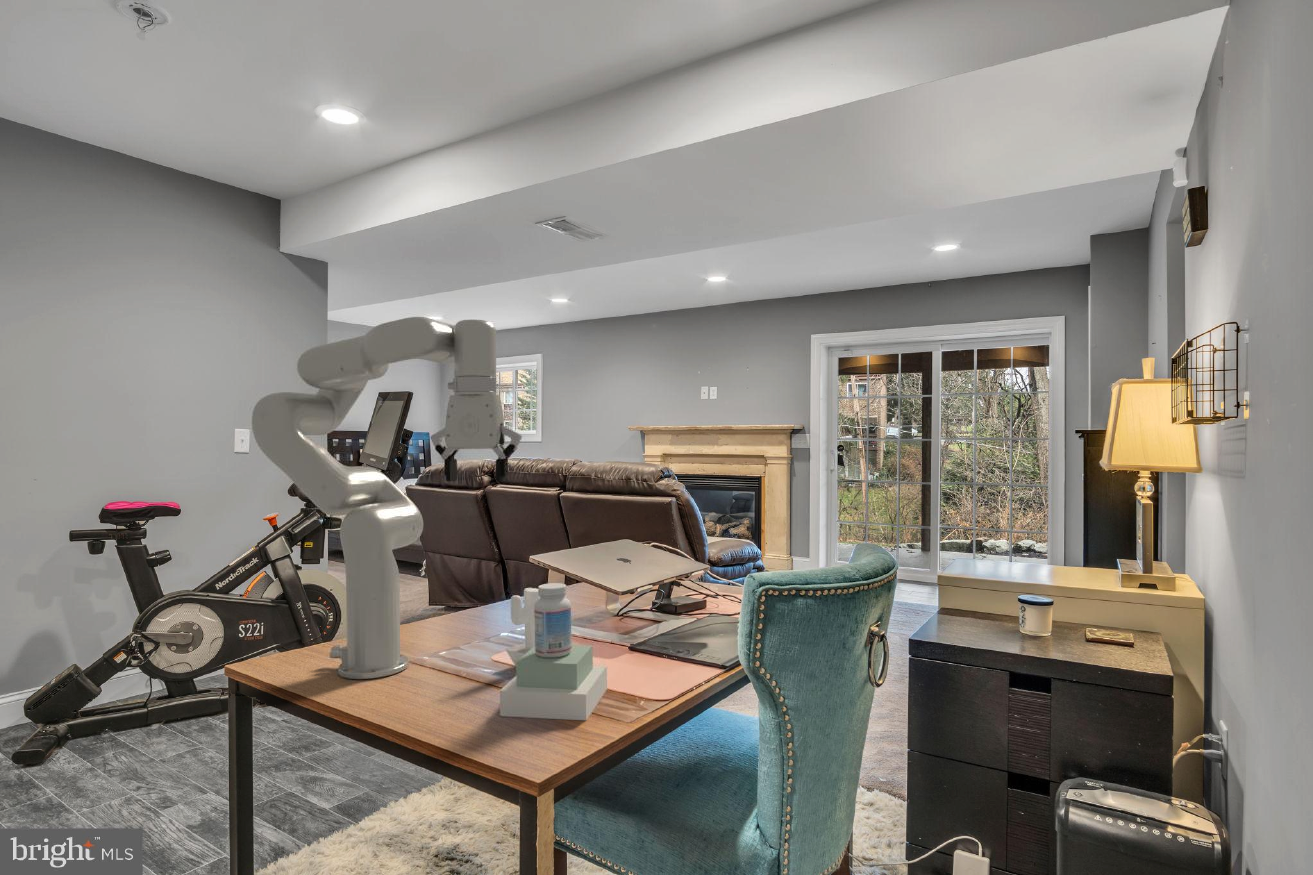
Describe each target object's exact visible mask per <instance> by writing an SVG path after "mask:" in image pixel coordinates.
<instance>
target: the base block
mask: <svg viewBox="0 0 1313 875" xmlns="http://www.w3.org/2000/svg"><path fill="white" fill-rule="evenodd" d="M607 690H608V666H607V665H595V664H593V669H592V671H591V672H590V673H589V675H588V676H587V677H586V678H585V680H584V681H583V682H582V684H581V685H580V686H579V688H578V689H555V688H533V687H516V675H515V676H514V677H513V678H511V679H510V680H509V681H508V683H506V685H504V686H503V687H502V688H501V689H500V690H499V716H500V717H510V718H527V719H528V718H531V719H532V718H533V719H534V718H535V719H548V720H549V719H551V720H552V719H553V720H571V721H587V720H588V719H589V717H590V715H591V714H592V713H593V711H594V710H595V709H596V706H597V705H598V703H600V701H601V699H602V697H603V695H604V694H605V693H606V692H607Z"/></svg>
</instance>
